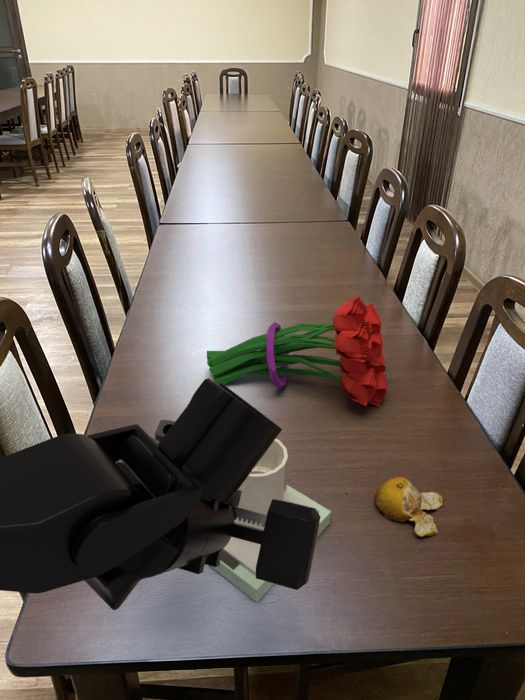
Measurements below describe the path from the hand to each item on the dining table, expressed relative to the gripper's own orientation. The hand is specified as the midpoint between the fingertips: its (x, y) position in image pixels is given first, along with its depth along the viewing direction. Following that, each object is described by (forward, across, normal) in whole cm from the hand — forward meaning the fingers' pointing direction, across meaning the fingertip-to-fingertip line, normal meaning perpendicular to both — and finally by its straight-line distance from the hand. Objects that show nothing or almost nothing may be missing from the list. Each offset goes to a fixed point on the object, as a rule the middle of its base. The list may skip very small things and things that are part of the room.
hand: (230, 517), depth 53 cm
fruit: (+20, -18, -4) cm, 27 cm away
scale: (+14, 0, +2) cm, 14 cm away
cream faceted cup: (+12, 0, 0) cm, 12 cm away
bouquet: (+36, +4, -19) cm, 41 cm away
